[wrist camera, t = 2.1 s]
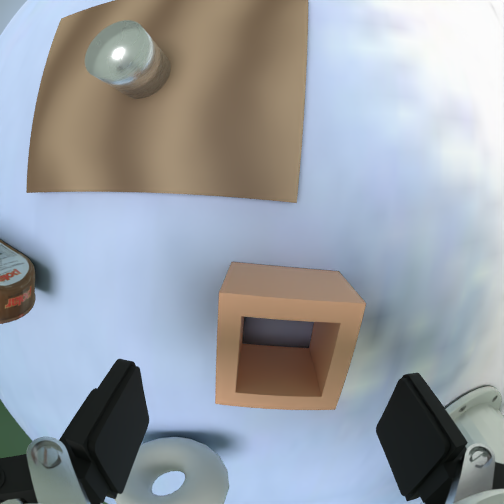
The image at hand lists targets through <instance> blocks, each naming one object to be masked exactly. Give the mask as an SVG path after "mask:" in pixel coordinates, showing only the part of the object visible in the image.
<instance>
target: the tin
mask: <svg viewBox="0 0 504 504" xmlns="http://www.w3.org/2000/svg"><path fill="white" fill-rule="evenodd" d="M34 292H35V268H34V265H33V263H32V262H31V261H30V259H29V258H28V257H26V256H25V255H24V254H22V253H20V252H19V251H17V250H16V249H14V248H12V247H11V246H9V245H8V244H6V243H5V242H3V241H2V240H0V324H3V323H7V322H11V321H14V320H17V319H19V318H21V317H23V316H25V315H26V314H27V313H28V312H29V311H30V310H31V309H32V308H33V306H34V303H35V293H34Z"/></svg>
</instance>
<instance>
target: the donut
mask: <svg viewBox="0 0 504 504" xmlns="http://www.w3.org/2000/svg"><path fill="white" fill-rule="evenodd" d="M170 471H181V472H183V473H184V474H185V481H184V483H183V485H182V486H181V487H180V488H179V489H178V490H176V491H175V492H173V493H171V494H168V495H164V496H158V495H154V494H153V493H152V485H153V483H154V481H155V480H156V479H157V478H158V477H159V476H161V475H163V474H164V473H167V472H170ZM228 489H229V481H228V472H227V469H226V467H225V465H224V463H223V462H222V460H221V458H220V456H218V455H217V454H216V453H215V452H214V451H213V450H211V449H210V448H209V447H208V446H207V445H205V444H202V443H200V442H197V441H195V440H192V439H190V438H181V437H168V438H158V439H155V440H152V441H149V442H146V443H144V444H142V445H140V448H139V451H138V453H137V456H136V459H135V461H134V464H133V467H132V469H131V472H130V475H129V477H128V480H127V483H126V486H125V489H124V491H123V493H122V494H117V497H116V499H115V501H116V503H117V504H224V502H225V499H226V495H227V492H228Z"/></svg>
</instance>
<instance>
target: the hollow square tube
mask: <svg viewBox="0 0 504 504" xmlns="http://www.w3.org/2000/svg"><path fill="white" fill-rule="evenodd" d="M365 306H366V303H365V302H364V300H363V299H362V298H361V297H360V296H359V294H358V293H357V292H356V291H355V290H354V288H353V287H352V286H351V285H350V284H349V283H348V281H347V280H346V279H345V278H344V277H343V276H342V274H341V273H340V272H339V271H330V270H318V269H306V268H294V267H283V266H272V265H260V264H249V263H238V262H231V265H230V267H229V270H228V272H227V274H226V277H225V279H224V282H223V284H222V286H221V289H220V291H219V304H218V328H217V356H216V396H215V404H222V405H230V406H240V407H251V408H265V409H286V410H335V408H336V406H337V403H338V400H339V397H340V394H341V391H342V388H343V385H344V382H345V379H346V376H347V373H348V369H349V366H350V363H351V359H352V356H353V352H354V349H355V345H356V342H357V338H358V334H359V330H360V326H361V322H362V318H363V314H364V310H365ZM244 317H254V318H266V319H279V320H293V321H309V322H314V325H313V330H312V335H311V340H310V345H309V348H300V347H282V346H268V345H255V344H244V343H242V339H243V327H244Z"/></svg>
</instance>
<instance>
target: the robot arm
mask: <svg viewBox="0 0 504 504" xmlns="http://www.w3.org/2000/svg"><path fill="white" fill-rule="evenodd" d="M500 406H501V395H500V393H499V392H498V391H497V390H496V389H495V388H494V387H491V386H486V387H482V388H478V389H476V390H474V391H472V392H469V393H468V394H466V395H464V396H463V397H461V398H459V399H458V400H457V401H455V402H454V403H452V404H451V405H450V406H448V407H447V408H446V409H445V408H444V407H443V405H442V404H441V402H440V401H439V400H438V398H437V397H436V396H435V394H434V393H433V391H432V390H431V389H430V387H429V386H428V385H427V383H426V382H425V381H424V379H423V378H422V377H421V375H420V374H419V373H412V374H405V375H403V377H402V378H401V379H399V381H398V383H397V385H396V387H395V389H394V392H393V394H392V396H391V398H390V400H389V402H388V405H387V407H386V409H385V411H384V413H383V415H382V417H381V419H380V421H379V422H378V424H377V427H376V433H377V435H378V438H379V440H380V443H381V445H382V447H383V450H384V452H385V455H386V457H387V460H388V462H389V464H390V467H391V469H392V472H393V474H394V477H395V480H396V482H397V485H398V487H399V490H400V492H401V494H402V495H403V496H405V497H406V500H407V501H410V500H413V499H416V498H419V497H421V499H422V501H421V504H504V416H503V415H502V414H501V412H500V411H499V409H500ZM148 424H149V415H148V410H147V406H146V401H145V396H144V390H143V385H142V379H141V373H140V368H139V367H137V366H136V365H135V363H134V362H132V361H127V360H123V359H118V360H117V361H116V362H115V364H114V365H113V366H112V368H111V369H110V371H109V372H108V374H107V375H106V377H105V378H104V380H103V381H102V383H101V384H100V386H99V387H98V388H97V389H96V388H95V389H93V390H92V391H91V392H90V394H89V395H88V397H87V398H86V400H85V401H84V403H83V404H82V406H81V407H80V409H79V410H78V412H77V413H76V415H75V416H74V418H73V419H72V421H71V422H70V424H69V426H68V427H67V429H66V430H65V432H64V433H63V435H62V436H61V438H60V440H57V439H55V438H52V437H41V438H37V439H35V440H34V441H32V442H31V444H30V445H29V446H28V449H27V454H24V455H19V456H13V457H6V458H0V504H102V503H103V502H104V499H105V497H106V496H107V497H110V498H113V499H116V497H117V494H122V493H123V491H124V489H125V486H126V483H127V480H128V477H129V475H130V472H131V469H132V467H133V464H134V461H135V459H136V456H137V453H138V451H139V448H140V445H141V443H142V440H143V437H144V435H145V432H146V430H147V427H148Z"/></svg>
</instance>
